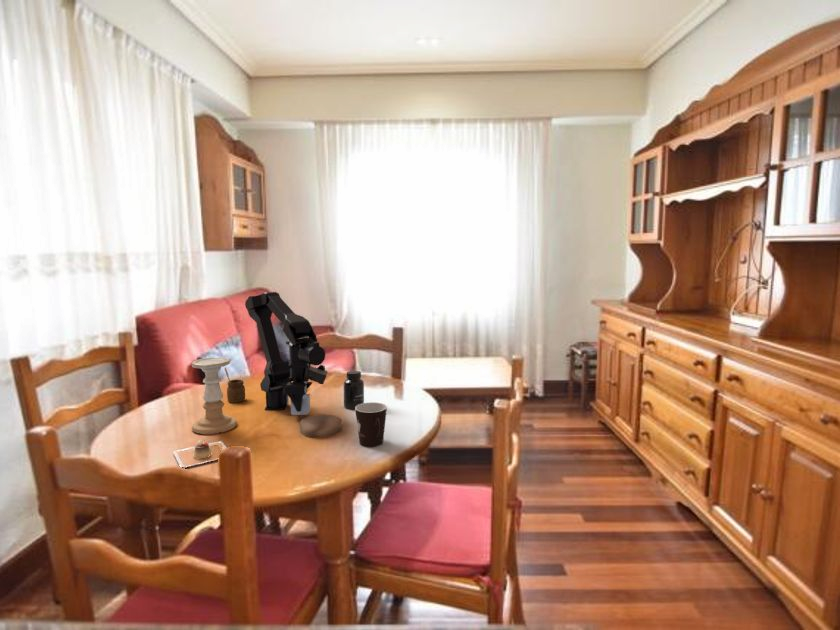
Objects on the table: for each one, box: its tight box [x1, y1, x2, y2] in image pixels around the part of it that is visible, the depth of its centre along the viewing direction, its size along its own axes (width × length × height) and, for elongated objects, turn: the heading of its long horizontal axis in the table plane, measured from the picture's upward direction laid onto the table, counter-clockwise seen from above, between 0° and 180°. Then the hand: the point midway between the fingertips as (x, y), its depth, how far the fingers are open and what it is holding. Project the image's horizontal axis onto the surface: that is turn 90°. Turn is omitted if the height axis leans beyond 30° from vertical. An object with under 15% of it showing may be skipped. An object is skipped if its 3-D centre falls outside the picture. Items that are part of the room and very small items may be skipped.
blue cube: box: [290, 393, 311, 416], centre depth 149 cm, size 5×5×5 cm
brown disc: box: [299, 414, 343, 438], centre depth 139 cm, size 12×12×2 cm
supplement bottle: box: [343, 370, 365, 410], centre depth 160 cm, size 7×7×12 cm
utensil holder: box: [224, 366, 246, 404], centre depth 167 cm, size 6×6×12 cm
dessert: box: [172, 439, 228, 469], centre depth 121 cm, size 12×12×5 cm
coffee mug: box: [354, 401, 388, 448], centre depth 128 cm, size 12×9×10 cm
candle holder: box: [191, 356, 238, 435], centre depth 140 cm, size 12×12×20 cm
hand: (300, 408), depth 150 cm, fingers closed on blue cube, 5 cm apart
